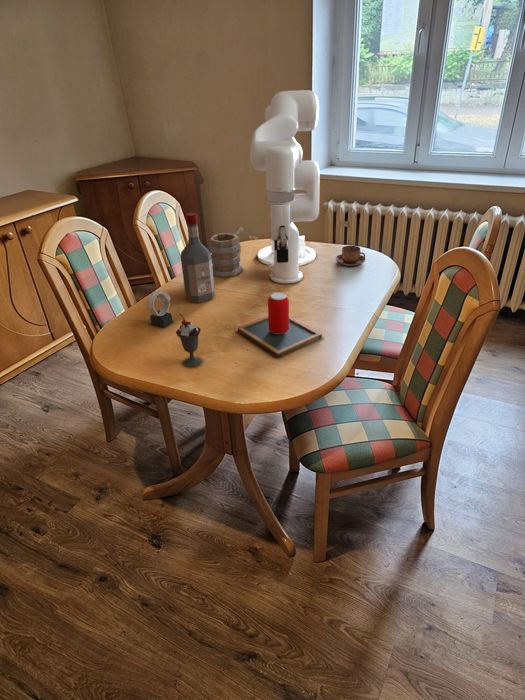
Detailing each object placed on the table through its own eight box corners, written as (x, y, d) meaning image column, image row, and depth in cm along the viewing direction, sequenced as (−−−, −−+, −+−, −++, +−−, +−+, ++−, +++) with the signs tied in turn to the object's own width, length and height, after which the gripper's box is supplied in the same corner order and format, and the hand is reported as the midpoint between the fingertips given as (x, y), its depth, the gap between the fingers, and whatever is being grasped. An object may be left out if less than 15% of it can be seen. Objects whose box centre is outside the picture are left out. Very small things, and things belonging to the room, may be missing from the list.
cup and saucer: (365, 258, 193) (366, 244, 190) (364, 269, 183) (365, 254, 180) (337, 257, 196) (337, 243, 192) (334, 267, 186) (335, 252, 182)
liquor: (217, 298, 165) (209, 214, 149) (194, 305, 161) (183, 219, 145) (206, 289, 171) (197, 208, 155) (183, 295, 167) (172, 213, 151)
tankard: (229, 279, 179) (227, 241, 171) (204, 273, 185) (200, 237, 177) (257, 262, 193) (255, 227, 185) (233, 257, 199) (230, 223, 191)
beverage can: (269, 326, 143) (268, 291, 137) (289, 326, 142) (289, 291, 136) (267, 336, 138) (266, 300, 132) (288, 336, 137) (288, 300, 131)
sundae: (181, 356, 132) (174, 310, 124) (204, 355, 132) (199, 308, 124) (179, 369, 126) (172, 321, 118) (204, 367, 127) (198, 320, 119)
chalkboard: (237, 332, 143) (237, 327, 142) (279, 315, 152) (279, 311, 151) (278, 358, 130) (278, 353, 129) (321, 338, 138) (321, 333, 137)
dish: (275, 271, 184) (275, 244, 178) (248, 253, 203) (247, 228, 197) (326, 259, 194) (327, 233, 188) (296, 243, 213) (296, 218, 207)
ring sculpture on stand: (176, 319, 152) (172, 288, 146) (160, 330, 146) (155, 298, 140) (163, 316, 154) (158, 285, 148) (147, 326, 148) (141, 295, 143)
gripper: (265, 188, 131) (266, 246, 140) (268, 205, 117) (270, 268, 126) (291, 187, 131) (291, 244, 141) (297, 203, 117) (297, 266, 126)
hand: (281, 255), depth 133 cm, fingers open, 9 cm apart
